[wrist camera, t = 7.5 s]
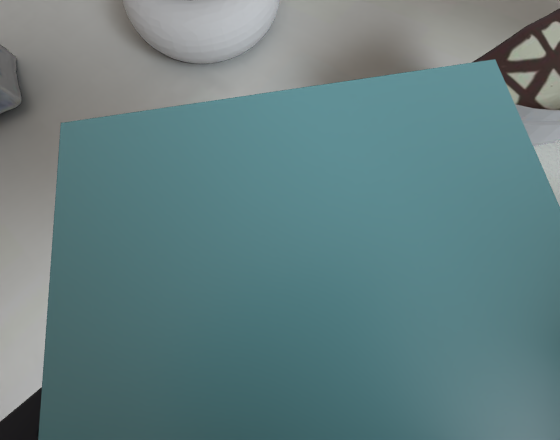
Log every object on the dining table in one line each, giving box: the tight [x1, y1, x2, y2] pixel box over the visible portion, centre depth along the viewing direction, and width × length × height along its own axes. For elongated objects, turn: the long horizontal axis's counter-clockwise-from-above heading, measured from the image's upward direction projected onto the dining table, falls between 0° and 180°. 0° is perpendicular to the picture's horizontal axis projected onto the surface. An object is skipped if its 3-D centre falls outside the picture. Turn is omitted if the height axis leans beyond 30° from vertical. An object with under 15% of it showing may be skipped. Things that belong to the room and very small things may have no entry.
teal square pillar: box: [38, 59, 560, 440], centre depth 9 cm, size 6×6×12 cm
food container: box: [472, 9, 560, 146], centre depth 17 cm, size 12×6×10 cm, turn 123°
